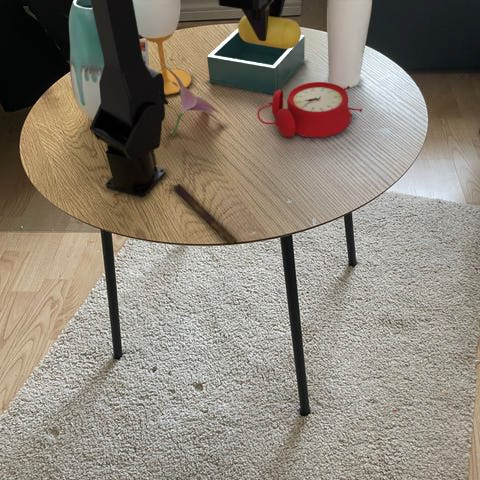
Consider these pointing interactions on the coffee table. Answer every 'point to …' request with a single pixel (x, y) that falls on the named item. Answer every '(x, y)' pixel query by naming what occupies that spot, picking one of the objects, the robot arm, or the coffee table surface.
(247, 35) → the yellow capsule cylinder
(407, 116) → the coffee table surface
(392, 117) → the coffee table surface
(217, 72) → the open box
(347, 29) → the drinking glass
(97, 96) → the vase
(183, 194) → the dark brown stick
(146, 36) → the cup
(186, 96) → the lily
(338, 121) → the alarm clock
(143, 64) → the robot arm
